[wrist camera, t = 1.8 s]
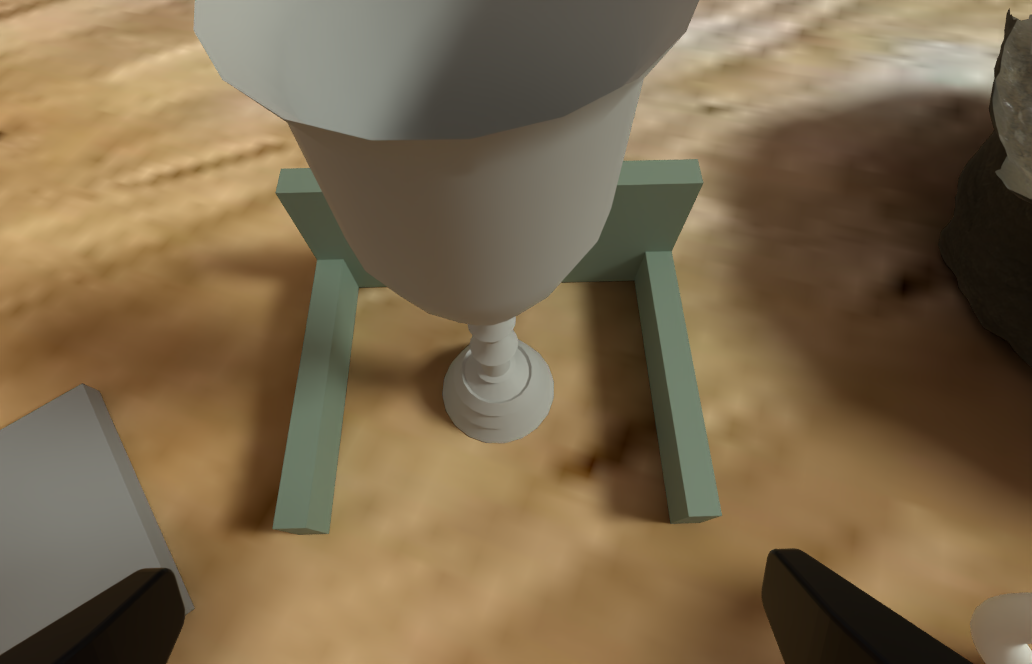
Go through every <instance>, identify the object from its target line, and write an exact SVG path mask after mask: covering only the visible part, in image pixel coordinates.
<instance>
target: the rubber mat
mask: <svg viewBox="0 0 1032 664" xmlns="http://www.w3.org/2000/svg"><path fill="white" fill-rule="evenodd" d="M144 568H169V569H171V570H172V571H173V572H174V574H175V577H176V580H177V583H178V587H179V590H180V593H181V596H182V600H183V603H184V606H185V615H186V614H188V613H189V612H191V611H192V610H193V609H195V608H194V606H193V603H192V601H191V599H190V597H189V594H188V592H187V590H186V588H185V585H184V583H183V581H182V578H181V576H180V574H179V572H178V569H177V567H176V565H175V563H174V560H173V558H172V556H171V553H170V551H169V549H168V547H167V544H166V542H165V540H164V537H163V535H162V533H161V531H160V528H159V526H158V524H157V522H156V519H155V517H154V515H153V512H152V510H151V508H150V506H149V503H148V501H147V499H146V497H145V494H144V492H143V490H142V487H141V485H140V483H139V481H138V478H137V476H136V474H135V472H134V469H133V467H132V465H131V462H130V460H129V458H128V456H127V453H126V451H125V449H124V446H123V444H122V442H121V440H120V437H119V435H118V433H117V431H116V428H115V426H114V424H113V421H112V419H111V417H110V415H109V412H108V410H107V408H106V406H105V403H104V401H103V399H102V396H101V394H100V392H99V391H98V390H96V389H94V388H91V387H89V386H87V385H85V384H83V383H82V384H80V385H79V386H77V387H75V388H73V389H72V390H70V391H68V392H66V393H65V394H63V395H61V396H59V397H58V398H56V399H54V400H52V401H51V402H49V403H47V404H45V405H44V406H42V407H40V408H38V409H36V410H35V411H33V412H31V413H29V414H28V415H26V416H24V417H22V418H21V419H19V420H17V421H15V422H14V423H12V424H10V425H8V426H7V427H5V428H3V429H1V430H0V655H1V654H2V653H4V652H6V651H7V650H9V649H11V648H12V647H14V646H15V645H17V644H19V643H20V642H22V641H23V640H25V639H27V638H28V637H30V636H32V635H33V634H35V633H36V632H38V631H40V630H41V629H43V628H45V627H46V626H48V625H49V624H51V623H53V622H54V621H56V620H58V619H59V618H61V617H62V616H64V615H66V614H67V613H69V612H71V611H72V610H74V609H75V608H77V607H79V606H80V605H82V604H84V603H85V602H87V601H88V600H90V599H92V598H93V597H95V596H97V595H98V594H100V593H101V592H103V591H105V590H106V589H108V588H110V587H111V586H113V585H114V584H116V583H118V582H119V581H121V580H123V579H124V578H126V577H127V576H129V575H131V574H132V573H134V572H136V571H138V570H140V569H144Z"/></svg>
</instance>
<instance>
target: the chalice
mask: <svg viewBox="0 0 1032 664" xmlns="http://www.w3.org/2000/svg"><path fill="white" fill-rule="evenodd" d="M698 2H699V0H195V11H194V32H195V34H196V35H197V37H198V39H199V40H200V42H201V44H202V46H203V47H204V49H205V51H206V52H207V54H208V56H209V58H210V59H211V61H212V63H213V64H214V66H215V68H216V70H217V71H218V73H219V75H220V76H221V78H222V80H224V81H225V82H227V83H228V84H230V85H231V86H233V87H234V88H236V89H237V90H239V91H241V92H242V93H244V94H245V95H247V96H248V97H250V98H251V99H253V100H254V101H256V102H257V103H259V104H260V105H262V106H263V107H265V108H266V109H268V110H269V111H271V112H272V113H274V114H275V115H277V116H278V117H280V118H281V119H283V120H284V121H286V122H287V123H288V125H289V127H290V129H291V131H292V133H293V135H294V137H295V139H296V141H297V143H298V145H299V147H300V149H301V151H302V153H303V155H304V157H305V159H306V161H307V163H308V165H309V167H310V169H311V171H312V173H313V175H314V177H315V179H316V181H317V183H318V185H319V187H320V189H321V191H322V193H323V195H324V197H325V199H326V201H327V203H328V205H329V207H330V209H331V211H332V213H333V215H334V217H335V219H336V221H337V223H338V225H339V227H340V229H341V231H342V233H343V235H344V237H345V239H346V240H347V242H348V244H349V245H350V247H351V249H352V250H353V252H354V253H355V255H356V257H357V258H358V260H359V262H360V263H361V265H362V266H363V268H364V270H365V271H366V272H367V273H369V274H370V275H371V276H373V277H374V278H376V279H377V280H378V281H380V282H381V283H383V284H384V285H385V286H387V287H388V288H390V289H391V290H392V291H394V292H395V293H397V294H398V295H400V296H401V297H403V298H404V299H406V300H408V301H409V302H411V303H413V304H414V305H416V306H417V307H419V308H421V309H422V310H424V311H425V312H427V313H429V314H432V315H436V316H439V317H442V318H446V319H449V320H453V321H456V322H460V323H465V324H468V328H469V331H470V332H471V334H472V335H473V336H472V338H471V341H470V344H469V345H468V346H467V347H466V348H465V349H464V350H463V351H462V352H461V353H460V354H459V355H458V356H457V357H456V358H455V359H454V360H453V362H452V363H451V364H450V367H449V369H448V371H447V373H446V375H445V378H444V384H443V394H442V395H443V400H444V404H445V408H446V412H447V413H448V415H449V416H450V418H451V420H452V421H453V423H454V424H455V426H456V427H458V428H459V429H460V430H461V431H463V432H464V433H465V434H466V435H468V436H469V437H472V438H475V439H477V440H480V441H483V442H486V443H507V442H510V441H514V440H517V439H521V438H523V437H524V436H526V435H527V434H529V433H530V432H532V431H533V430H535V429H536V428H537V427H538V426H539V425H540V424H541V422H542V421H543V420H544V418H545V417H546V416H547V415H548V412H549V409H550V407H551V404H552V401H553V398H554V381H553V378H552V375H551V372H550V369H549V366H548V365H547V363H546V362H545V361H544V359H543V358H542V357H541V355H540V354H539V353H538V352H537V351H535V350H534V349H532V348H531V347H530V346H528V345H527V344H525V343H523V342H522V341H520V340H519V339H517V335H516V333H515V332H514V331H513V328H514V326H515V320H516V317H515V316H517V315H519V314H521V313H522V312H524V311H526V310H527V309H529V308H531V307H532V306H534V305H535V304H537V303H539V302H540V301H542V300H544V299H545V298H547V297H548V296H549V295H550V294H551V293H552V292H553V291H554V289H555V288H556V287H557V286H558V285H559V284H560V283H561V282H562V281H563V279H564V278H565V277H566V276H567V275H568V274H569V273H570V272H571V271H572V269H573V268H574V267H575V266H576V265H577V264H578V263H579V262H580V260H581V259H582V258H583V257H584V256H585V255H586V254H587V253H588V252H589V250H590V249H591V248H592V247H593V246H594V245H595V244H596V243H597V241H598V239H599V237H600V234H601V232H602V229H603V227H604V225H605V222H606V220H607V217H608V215H609V213H610V210H611V207H612V203H613V199H614V195H615V191H616V187H617V183H618V179H619V175H620V171H621V167H622V163H623V159H624V155H625V151H626V147H627V143H628V139H629V135H630V131H631V127H632V123H633V119H634V115H635V111H636V107H637V103H638V99H639V95H640V91H641V87H642V83H643V79H644V78H645V77H646V76H647V74H648V73H649V72H650V71H651V70H652V69H653V68H654V67H655V66H656V64H657V63H658V62H659V61H660V60H661V59H662V58H663V57H664V56H665V54H666V53H667V52H668V51H669V50H670V49H671V48H672V47H673V46H674V44H675V43H676V42H677V41H678V40H679V39H680V38H681V37H682V35H683V34H684V33H685V32H686V30H687V28H688V26H689V23H690V21H691V18H692V16H693V14H694V11H695V9H696V6H697V4H698Z"/></svg>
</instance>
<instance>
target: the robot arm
mask: <svg viewBox="0 0 1032 664" xmlns="http://www.w3.org/2000/svg"><path fill="white" fill-rule="evenodd" d="M762 602H763V606H764V609H765V612H766V615H767V617H768V620H769V623H770V625H771V628H772V630H773V633H774V636H775V638H776V641H777V644H778V646H779V649H780V652H781V654H782V657H783V660H784V662H785V664H973V663H971V662H970V661H968V660H967V659H965V658H964V657H962V656H961V655H959V654H958V653H956V652H955V651H953V650H951V649H950V648H948V647H947V646H945V645H944V644H942V643H941V642H939V641H938V640H936V639H935V638H933V637H932V636H930V635H929V634H927V633H926V632H924V631H923V630H921V629H920V628H918V627H917V626H915V625H914V624H912V623H911V622H909V621H908V620H906V619H905V618H903V617H902V616H900V615H899V614H897V613H896V612H894V611H893V610H891V609H890V608H888V607H887V606H885V605H883V604H882V603H880V602H879V601H877V600H876V599H874V598H873V597H871V596H870V595H868V594H867V593H865V592H864V591H862V590H861V589H859V588H858V587H856V586H855V585H853V584H852V583H850V582H849V581H847V580H846V579H844V578H843V577H841V576H840V575H838V574H837V573H835V572H834V571H832V570H831V569H829V568H828V567H826V566H825V565H823V564H822V563H820V562H819V561H817V560H816V559H814V558H812V557H811V556H809V555H808V554H806V553H805V552H803V551H801V550H799V549H794V548H792V549H774V550H771V551H770V552H769V554H768V557H767V562H766V568H765V573H764V579H763V585H762ZM184 620H185V606H184V603H183V600H182V596H181V593H180V590H179V587H178V583H177V580H176V577H175V574H174V572H173V571H172V570H171V569H169V568H144V569H140V570H138V571H136V572H134V573H132V574H131V575H129V576H127V577H126V578H124V579H123V580H121V581H119V582H118V583H116V584H114V585H113V586H111V587H110V588H108V589H106V590H105V591H103V592H101V593H100V594H98V595H97V596H95V597H93V598H92V599H90V600H88V601H87V602H85V603H84V604H82V605H80V606H79V607H77V608H75V609H74V610H72V611H71V612H69V613H67V614H66V615H64V616H62V617H61V618H59V619H58V620H56V621H54V622H53V623H51V624H49V625H48V626H46V627H45V628H43V629H41V630H40V631H38V632H36V633H35V634H33V635H32V636H30V637H28V638H27V639H25V640H23V641H22V642H20V643H19V644H17V645H15V646H14V647H12V648H11V649H9V650H7V651H6V652H4V653H2V654H1V655H0V664H166V663H167V661H168V659H169V656H170V654H171V652H172V650H173V647H174V645H175V643H176V641H177V638H178V636H179V634H180V632H181V629H182V627H183V624H184Z"/></svg>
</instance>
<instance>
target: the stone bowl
mask: <svg viewBox="0 0 1032 664" xmlns="http://www.w3.org/2000/svg"><path fill="white" fill-rule="evenodd" d="M1004 33H1005V35H1004V40H1003V43H1002V45H1001V49H1000V54H999V56H998V58H997V61H996V65H995V68H994V77H995V79H994V82H993V87H992V93H991V99H990V105H989V112H990V116H991V120H992V124H993V127H994V129H995V130H994V132H993V133H992V134H991V136H990V137H989V138H988V139H987V140H986V142H985V143H984V144H983V145H982V146H981V147H980V149H979V150H978V151H977V153H976V154H975V155H974V156H973V157H972V158H971V160H970V161H969V162H968V163H967V164H966V166H965V168H964V170H963V171H962V173H961V175H960V177H959V180H958V190H957V194H956V197H955V210H954V216H953V218H952V220H951V221H950V223H949V224H948V225H947V226H946V227H945V228H944V229H943V230H942V231H941V234H940V239H939V243H938V246H939V249H940V252H941V255H942V257H943V259H944V262H945V263H946V264H947V266H948V267H949V268H950V269H951V270H952V271H953V272H954V274H955V275H956V277H957V279H958V288H959V289H960V290H961V291H962V293H963V294H964V295H965V296H966V297H967V299H968V300H969V302H970V305H971V307H972V309H973V311H974V312H975V314H976V316H977V318H978V319H979V321H980V323H981V324H982V326H983V327H984V328H985V329H987V330H989V331H991V332H992V333H994V334H996V335H998V336H1000V337H1001V338H1003V339H1005V340H1006V341H1008V342H1009V343H1010V345H1011V346H1012V348H1013V349H1014V350H1015V352H1016V353H1017V354H1018V355H1019V356H1020V357H1021V358H1022V359H1023V360H1024V361H1025V362H1026V363H1027V364H1028V365H1029V366H1030V367H1031V368H1032V15H1030V16H1029V19H1027V20H1022V21H1021V20H1019V19H1017V18H1015V17H1013V16H1012V14H1011V15H1010V8H1009V10H1008V12H1007V15H1006V24H1005V30H1004Z"/></svg>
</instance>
